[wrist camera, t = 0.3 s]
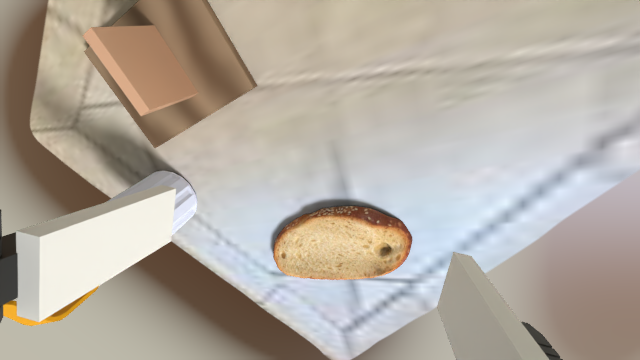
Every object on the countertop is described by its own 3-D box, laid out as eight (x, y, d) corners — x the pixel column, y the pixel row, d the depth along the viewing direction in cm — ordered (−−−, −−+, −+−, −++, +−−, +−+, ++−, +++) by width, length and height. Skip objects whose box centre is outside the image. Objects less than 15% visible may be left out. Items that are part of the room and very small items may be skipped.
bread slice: (268, 256, 54) (259, 272, 50) (307, 171, 45) (300, 183, 42) (364, 306, 53) (361, 324, 50) (423, 230, 45) (425, 247, 41)
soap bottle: (177, 162, 49) (0, 273, 28) (208, 211, 52) (69, 347, 31) (138, 178, 52) (-48, 289, 31) (169, 224, 55) (19, 354, 34)
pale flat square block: (154, 25, 39) (91, 27, 31) (198, 92, 42) (149, 110, 34) (145, 33, 40) (80, 37, 32) (188, 99, 42) (139, 117, 35)
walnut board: (185, -36, 36) (179, -38, 35) (257, 85, 41) (253, 87, 40) (91, 50, 44) (83, 51, 43) (160, 145, 48) (154, 148, 47)
